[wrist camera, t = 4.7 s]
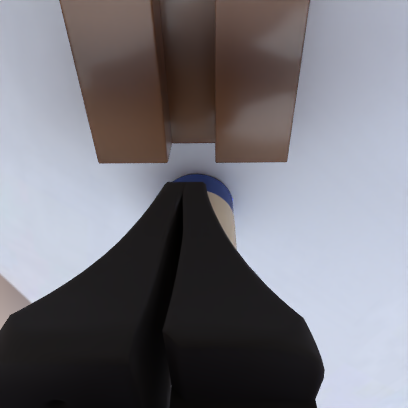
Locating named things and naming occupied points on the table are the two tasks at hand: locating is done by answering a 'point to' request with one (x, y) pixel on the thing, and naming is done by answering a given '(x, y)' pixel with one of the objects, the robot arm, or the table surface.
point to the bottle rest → (188, 75)
